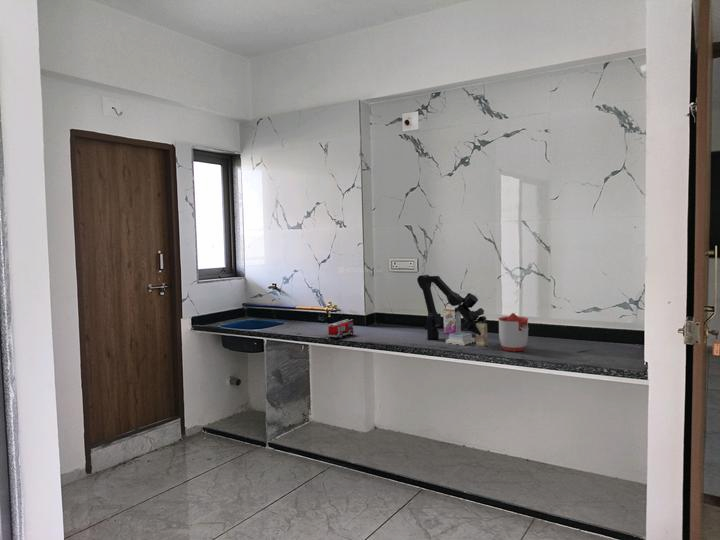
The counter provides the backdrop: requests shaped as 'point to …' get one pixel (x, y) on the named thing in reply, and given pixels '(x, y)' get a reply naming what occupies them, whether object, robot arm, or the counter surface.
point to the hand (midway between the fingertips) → (483, 334)
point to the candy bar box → (451, 321)
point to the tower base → (460, 338)
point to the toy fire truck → (341, 328)
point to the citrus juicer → (513, 332)
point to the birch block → (482, 338)
